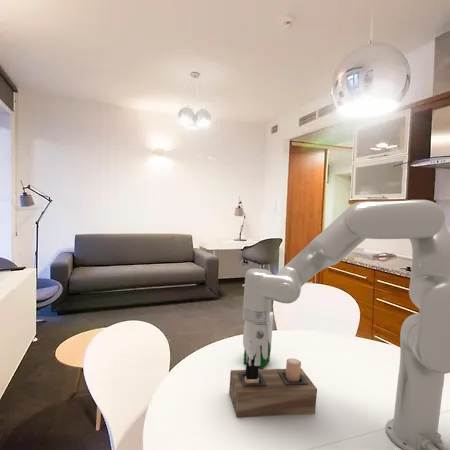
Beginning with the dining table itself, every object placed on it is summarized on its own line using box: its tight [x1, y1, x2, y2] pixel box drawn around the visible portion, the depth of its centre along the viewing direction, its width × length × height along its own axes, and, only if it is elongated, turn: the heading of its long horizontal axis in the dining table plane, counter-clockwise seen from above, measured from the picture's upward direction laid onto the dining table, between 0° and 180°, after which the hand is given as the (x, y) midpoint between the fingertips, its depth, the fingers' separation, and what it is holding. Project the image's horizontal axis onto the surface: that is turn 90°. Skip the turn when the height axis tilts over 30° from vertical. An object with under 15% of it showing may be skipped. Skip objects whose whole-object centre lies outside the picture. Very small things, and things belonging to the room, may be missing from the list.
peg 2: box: [285, 357, 302, 382], centre depth 94 cm, size 4×4×7 cm
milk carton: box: [243, 311, 275, 369], centre depth 116 cm, size 9×9×20 cm
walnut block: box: [228, 368, 318, 418], centre depth 94 cm, size 11×22×7 cm, turn 100°
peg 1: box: [245, 376, 259, 383], centre depth 93 cm, size 4×4×7 cm
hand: (251, 377), depth 93 cm, fingers closed
